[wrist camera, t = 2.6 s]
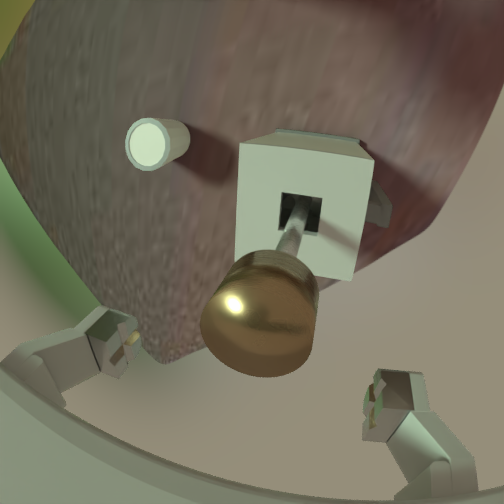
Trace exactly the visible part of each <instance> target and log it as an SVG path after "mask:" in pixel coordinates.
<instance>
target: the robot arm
mask: <svg viewBox="0 0 504 504" xmlns="http://www.w3.org/2000/svg"><path fill="white" fill-rule="evenodd" d="M137 327H138V323H137V319H136V318H135V317H134V316H131V315H128V314H125V313H123V312H120V311H117V310H114V309H111V308H108V307H105V306H103V305H101V306H98V307H97V308H96V309H95V310H93V311H92V312H91V313H90V314H89V315H88V316H87V317H86V318H85V319H84V320H83V321H82V322H80V323H79V324H78V325H77V326H76V327H75V328H74V329H72V328H68V329H65V330H62V331H59V332H56V333H53V334H49V335H46V336H43V337H40V338H37V339H34V340H31V341H27V342H24V343H21V344H20V345H18V346H17V347H16V348H15V349H14V350H13V351H12V352H11V353H10V354H9V355H8V356H7V357H6V358H4V359H3V360H2V361H1V362H0V504H504V486H500V487H495V488H491V489H487V490H482V491H478V483H477V474H476V467H475V460H474V457H473V456H472V454H471V453H470V452H469V451H468V450H467V449H466V447H465V446H464V445H463V444H462V443H461V442H460V441H459V439H458V438H457V437H456V436H455V435H454V434H453V432H452V431H451V430H450V429H449V428H448V427H447V426H446V425H445V423H444V422H443V421H442V420H441V419H440V418H439V416H438V415H437V414H436V413H435V412H432V411H430V407H429V401H428V396H427V391H426V385H425V380H424V376H423V374H422V373H421V372H411V371H399V370H388V369H378V370H377V371H376V372H375V375H374V377H373V378H374V383H373V384H371V385H370V386H369V387H368V389H367V392H366V395H365V398H364V404H363V413H364V415H365V416H366V419H365V421H364V422H363V431H362V440H363V441H373V442H385V443H386V444H387V446H388V448H389V450H390V451H391V453H392V455H393V456H394V458H395V460H396V461H397V464H398V465H399V467H400V469H401V471H402V472H403V474H404V476H405V478H406V480H407V481H408V483H409V484H408V485H407V486H405V487H404V488H403V489H402V490H401V491H399V492H398V493H397V494H396V495H395V496H394V500H392V501H391V500H389V501H369V500H346V499H333V498H321V497H314V496H306V495H298V494H292V493H286V492H280V491H274V490H270V489H264V488H260V487H255V486H251V485H247V484H242V483H238V482H234V481H231V480H227V479H223V478H219V477H216V476H213V475H210V474H206V473H203V472H200V471H197V470H194V469H191V468H188V467H185V466H182V465H179V464H177V463H174V462H172V461H169V460H166V459H164V458H161V457H159V456H156V455H154V454H151V453H149V452H146V451H144V450H142V449H140V448H137V447H135V446H133V445H131V444H129V443H127V442H124V441H122V440H120V439H118V438H116V437H114V436H112V435H110V434H108V433H106V432H104V431H102V430H101V429H98V428H97V427H95V426H93V425H91V424H89V423H87V422H86V421H84V420H82V419H81V418H79V417H77V416H75V415H74V414H72V413H70V412H69V411H67V410H66V409H64V407H65V406H66V401H65V400H64V398H63V396H62V395H61V393H62V392H64V391H66V390H68V389H70V388H72V387H74V386H76V385H78V384H80V383H81V382H83V381H85V380H87V379H89V378H91V377H93V376H95V375H97V374H99V373H100V372H102V373H105V374H107V375H110V376H112V377H114V378H117V379H119V378H120V377H121V376H122V375H123V373H124V372H125V371H126V369H127V368H128V362H129V361H131V360H133V359H135V358H136V356H137V355H138V354H139V351H140V348H141V336H140V334H139V333H138V332H137V330H136V328H137Z"/></svg>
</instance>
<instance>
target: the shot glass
mask: <svg viewBox="0 0 504 504" xmlns="http://www.w3.org/2000/svg"><path fill="white" fill-rule="evenodd" d="M125 144H126V152H127V155H128V158H129V160H130V161H131V162H132V163H133V165H134V166H135V167H137V168H139V169H141V170H143V171H153V170H155V169H157V168H159V167H161V166H163V165H165V164H167V163H169V162H170V161H172V160H174V159H176V158H178V157H180V156H182V155H183V154H184V153H185V152H186V151H187V150H188V147H189V144H190V133H189V131H188V128H187V127H186V126H185V125H184V124H183V123H182V122H179V121H177V120H170V119H158V118H143V119H140V120H138V121H137V122H135V123H134V124H133V125H132V126H131V128H130V129H129V130H128V133H127V137H126V140H125Z"/></svg>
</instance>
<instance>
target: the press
mask: <svg viewBox="0 0 504 504" xmlns="http://www.w3.org/2000/svg"><path fill="white" fill-rule="evenodd" d="M359 142H360V139H356V138H350V137H343V136H337V135H330V134H323V133H315V132H307V131H299V130H289V129H279V128H276V133H273V134H270V135H266V136H263V137H259V138H256V139H252V140H249V141H245V142H242V143H240V148H239V169H238V191H237V214H236V239H235V262H236V261H237V260H238V259H240V258H241V257H242V256H244V255H246V254H248V253H250V252H253V251H257V250H268V249H270V250H275V249H276V247H277V245H278V243H279V240H280V238H281V236H282V234H283V231H284V229H285V227H280V218H281V208H282V197H283V192H284V193H292V194H299V195H306V196H312V197H319V198H323V199H322V206H321V214H320V221H319V227H318V233H317V232H310V231H304V232H303V236H302V240H301V243H300V247H299V251H298V254H297V258H298V259H299V260H301V261H302V262H303V263H304V264H305V265H306V266H307V267H308V268H309V269H310V270H311V272H312V273H313V275H316V276H322V277H328V278H334V279H340V280H346V281H351V280H352V276H353V272H354V268H355V263H356V259H357V255H358V250H359V245H360V241H361V236H362V231H363V226H364V222H370V223H375V224H377V226H379V227H385V228H388V227H389V222H390V218H391V213H392V208H393V205H392V203H391V202H390V200H389V199H388V197H387V196H386V194H385V193H384V191H383V189H382V188H381V186H380V185H379V183H378V182H377V181H373V180H372V175H373V168H374V161H375V160H374V159H373V158H372V157H371V156H370V155H369V154H368V153H367V152H366V151H365V150H364V149H363V148H362V147H361V146H360V145H359Z"/></svg>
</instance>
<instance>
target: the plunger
mask: <svg viewBox="0 0 504 504" xmlns="http://www.w3.org/2000/svg"><path fill="white" fill-rule="evenodd" d="M322 199H323V198H319V197H312V196H306V195H299V194H292V193H284V192H283V197H282V208H281V218H280V227H285V229H284V231H283V234H282V236H281V238H280V240H279V243H278V245H277V247H276V249H275V250H270V249H268V250H257V251H253V252H250V253H248V254H246V255H244V256H242V257H241V258H240V259H238V260H237V261H236V262H235V263H234V264H233V266H232V267H231V269H230V270H229V272H228V273H227V275H226V276H225V278H224V279H223V281H222V282H221V284H220V285H219V287H218V288H217V290H216V291H215V293H214V294H213V296H212V297H211V299H210V300H209V302H208V303H207V305H206V307H205V308H204V310H203V312H202V315H201V319H200V329H201V334H202V337H203V340H204V342H205V344H206V345H207V347H208V348H209V350H210V351H211V352H212V353H213V355H215V357H216V358H218V359H219V360H220V361H221V362H222V363H224V364H225V365H227V366H228V367H230V368H232V369H234V370H236V371H238V372H241V373H244V374H247V375H251V376H256V377H278V376H282V375H286V374H289V373H291V372H293V371H295V370H296V369H298V368H299V367H301V366H302V365H303V364H304V363H305V361H306V360H307V359H308V357H309V355H310V352H311V350H312V344H313V337H314V330H315V322H316V316H317V308H318V300H319V288H318V284H317V281H316V279H315V277H314V275H313V273H312V272H311V270H310V269H309V268H308V267H307V266H306V265H305V264H304V263H303V262H302V261H301V260H299V259H298V258H297V254H298V251H299V247H300V243H301V240H302V236H303V232H304V231H310V232H317V233H318V227H319V221H320V214H321V206H322Z"/></svg>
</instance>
